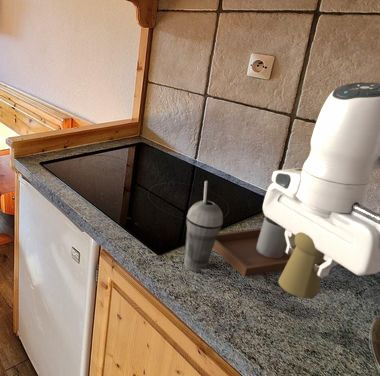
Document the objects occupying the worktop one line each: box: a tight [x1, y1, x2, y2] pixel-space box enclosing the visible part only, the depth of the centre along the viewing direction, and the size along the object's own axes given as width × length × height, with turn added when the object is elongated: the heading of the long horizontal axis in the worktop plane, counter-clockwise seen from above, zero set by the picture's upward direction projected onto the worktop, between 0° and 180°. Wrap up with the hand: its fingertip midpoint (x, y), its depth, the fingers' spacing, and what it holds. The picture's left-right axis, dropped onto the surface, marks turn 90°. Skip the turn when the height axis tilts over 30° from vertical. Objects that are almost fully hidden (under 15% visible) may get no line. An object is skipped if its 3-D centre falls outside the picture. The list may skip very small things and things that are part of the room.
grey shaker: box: [256, 215, 287, 258], centre depth 91 cm, size 6×6×9 cm
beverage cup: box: [183, 180, 224, 272], centre depth 85 cm, size 7×7×20 cm
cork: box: [277, 232, 325, 299], centre depth 68 cm, size 6×6×11 cm
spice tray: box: [212, 227, 327, 278], centre depth 93 cm, size 24×14×3 cm, turn 105°
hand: (305, 264), depth 68 cm, fingers closed on cork, 4 cm apart
